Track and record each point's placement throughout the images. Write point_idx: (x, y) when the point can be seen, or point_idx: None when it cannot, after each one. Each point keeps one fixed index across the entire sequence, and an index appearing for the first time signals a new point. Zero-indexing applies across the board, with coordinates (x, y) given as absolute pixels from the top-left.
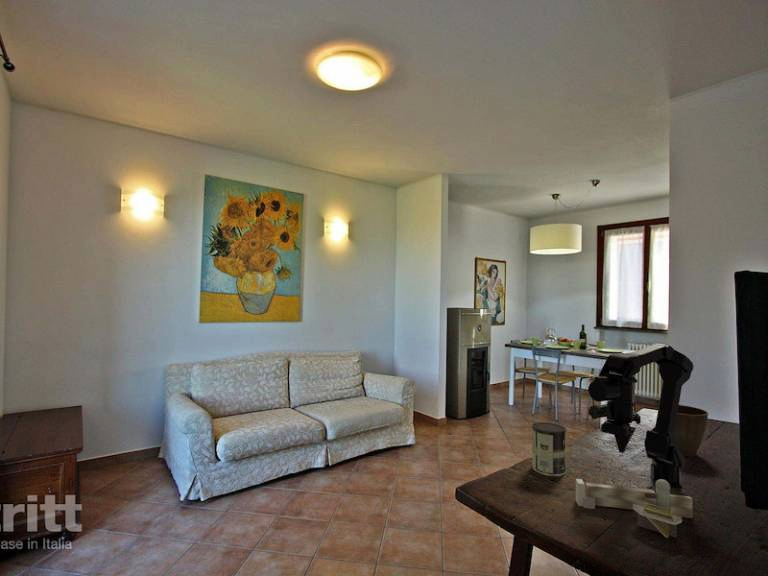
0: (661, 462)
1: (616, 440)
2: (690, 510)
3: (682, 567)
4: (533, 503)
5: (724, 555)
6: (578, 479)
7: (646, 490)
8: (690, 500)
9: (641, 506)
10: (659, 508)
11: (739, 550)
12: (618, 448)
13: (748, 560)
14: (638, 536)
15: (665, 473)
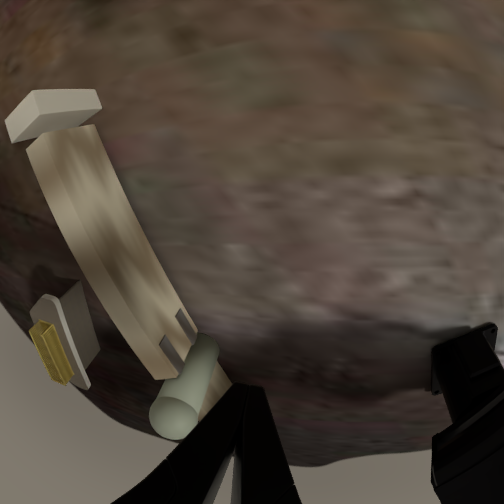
0: (473, 408)
1: (159, 468)
2: None
3: (25, 331)
4: (22, 17)
5: (109, 398)
6: (31, 103)
7: (152, 359)
8: None
9: (58, 320)
10: None
11: (147, 421)
12: (216, 403)
13: (125, 419)
14: (42, 278)
15: (449, 391)
